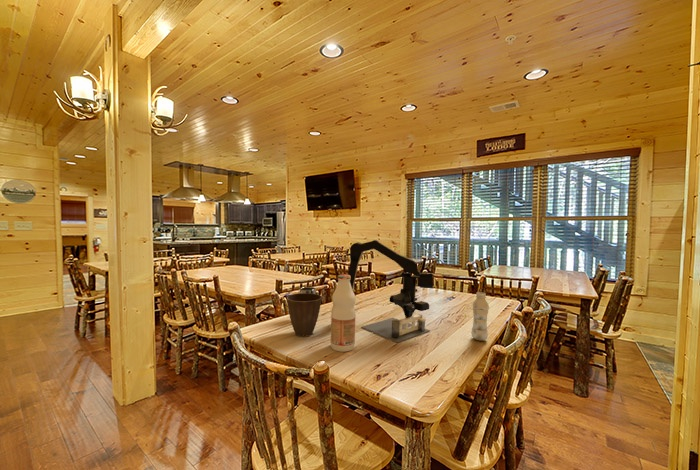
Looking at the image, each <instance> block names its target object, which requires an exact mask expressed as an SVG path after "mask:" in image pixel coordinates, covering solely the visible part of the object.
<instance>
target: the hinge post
mask: <svg viewBox="0 0 700 470" xmlns="http://www.w3.org/2000/svg"><path fill="white" fill-rule="evenodd" d="M399 320H400V319H398V320H392V335H391V337H392V338H394V339H397V338H399Z"/></svg>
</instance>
